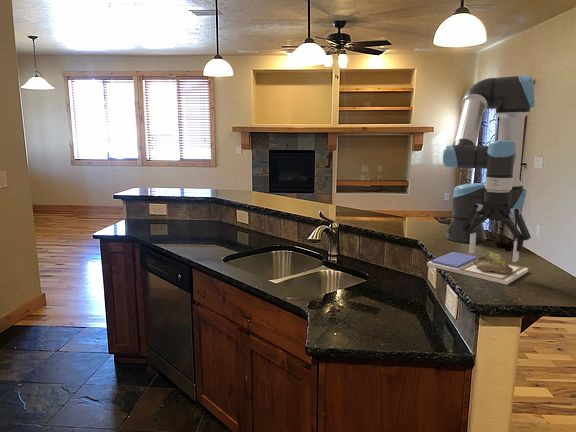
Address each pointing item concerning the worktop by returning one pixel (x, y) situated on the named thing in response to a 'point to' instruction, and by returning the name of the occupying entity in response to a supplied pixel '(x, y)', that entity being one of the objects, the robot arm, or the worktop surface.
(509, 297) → the worktop surface
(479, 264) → the rock
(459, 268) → the board
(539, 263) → the worktop surface
